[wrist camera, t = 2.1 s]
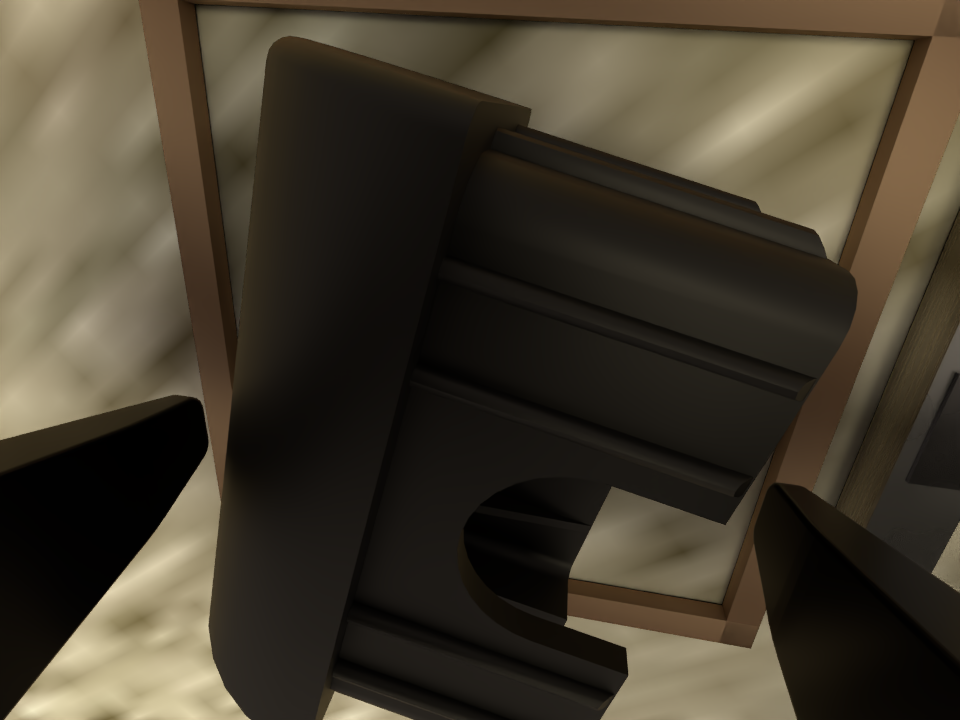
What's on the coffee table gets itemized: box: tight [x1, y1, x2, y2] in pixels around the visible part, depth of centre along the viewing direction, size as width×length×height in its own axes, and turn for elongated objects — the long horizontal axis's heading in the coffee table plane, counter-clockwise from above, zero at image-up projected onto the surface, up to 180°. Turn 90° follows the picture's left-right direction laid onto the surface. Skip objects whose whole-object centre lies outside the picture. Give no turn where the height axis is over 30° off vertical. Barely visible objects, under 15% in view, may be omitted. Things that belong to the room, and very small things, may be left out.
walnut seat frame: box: [139, 0, 960, 648], centre depth 12 cm, size 15×15×1 cm
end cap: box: [209, 36, 858, 720], centre depth 10 cm, size 10×7×7 cm
